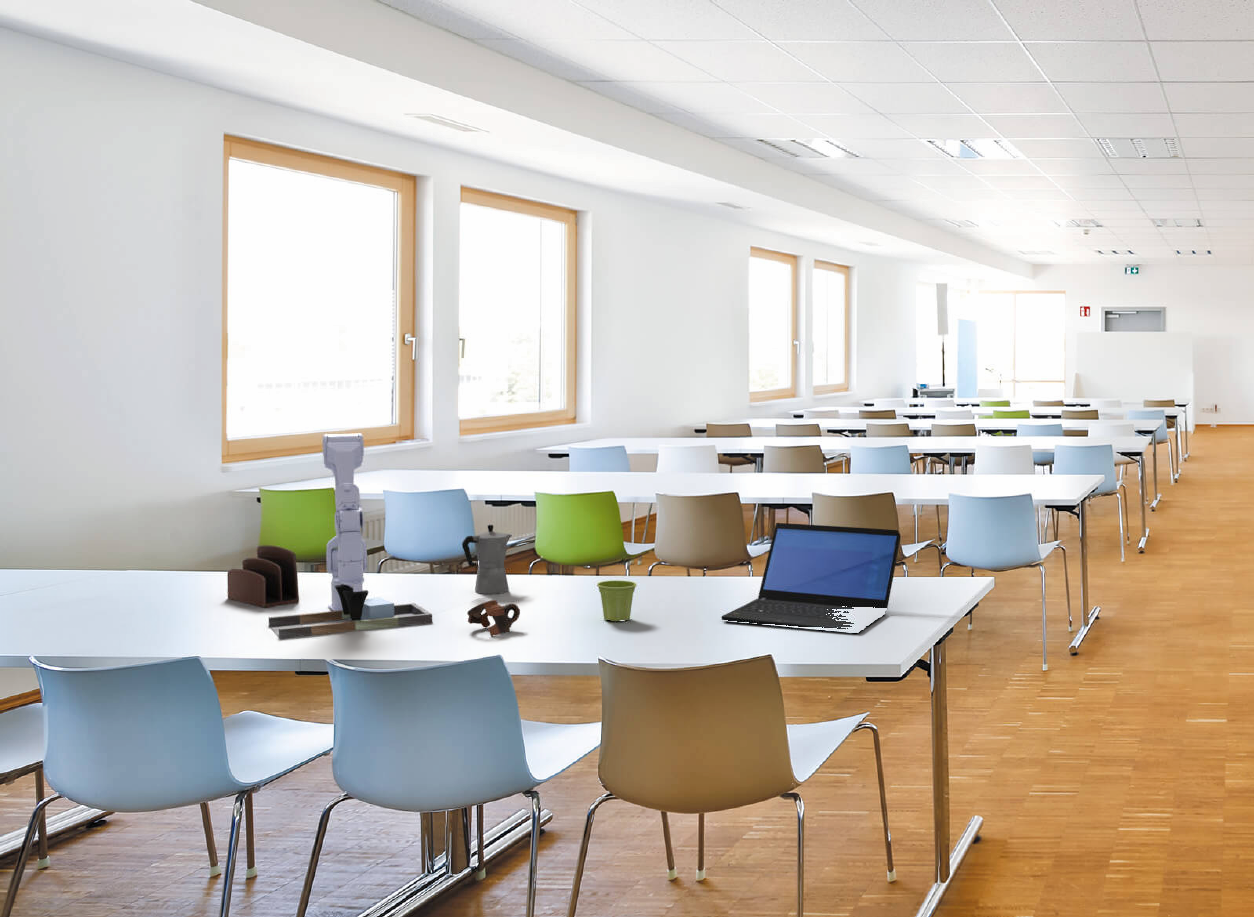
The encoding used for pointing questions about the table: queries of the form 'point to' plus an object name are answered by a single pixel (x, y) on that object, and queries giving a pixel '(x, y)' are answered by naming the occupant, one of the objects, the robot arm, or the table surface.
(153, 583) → the table surface
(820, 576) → the laptop
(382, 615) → the blue block
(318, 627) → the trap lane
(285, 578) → the letter holder
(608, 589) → the plant pot
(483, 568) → the coffeepot
